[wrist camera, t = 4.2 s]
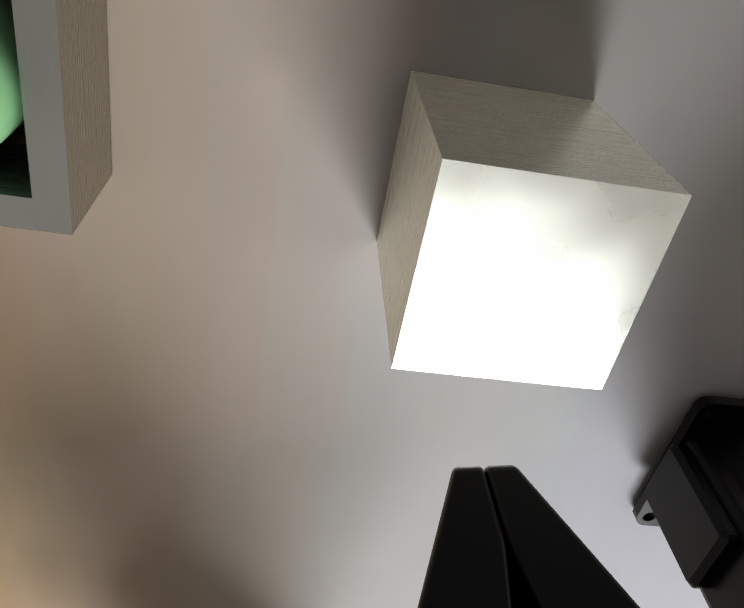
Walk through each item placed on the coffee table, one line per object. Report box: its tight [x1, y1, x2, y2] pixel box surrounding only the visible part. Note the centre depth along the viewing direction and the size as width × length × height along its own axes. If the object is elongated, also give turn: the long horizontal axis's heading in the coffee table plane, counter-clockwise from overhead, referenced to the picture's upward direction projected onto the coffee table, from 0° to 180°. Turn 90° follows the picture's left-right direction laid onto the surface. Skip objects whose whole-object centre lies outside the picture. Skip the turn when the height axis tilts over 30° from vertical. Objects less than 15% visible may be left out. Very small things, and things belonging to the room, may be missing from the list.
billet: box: [377, 71, 692, 390], centre depth 17 cm, size 5×5×6 cm
